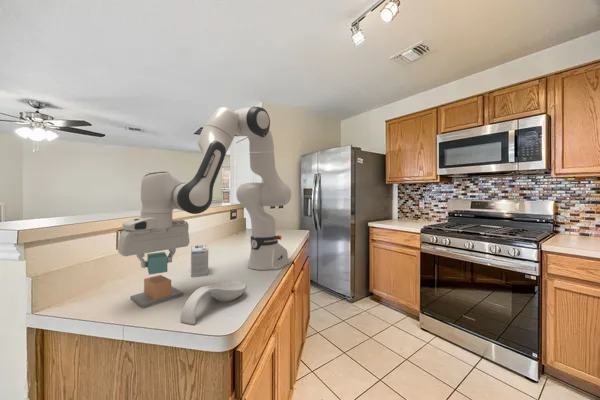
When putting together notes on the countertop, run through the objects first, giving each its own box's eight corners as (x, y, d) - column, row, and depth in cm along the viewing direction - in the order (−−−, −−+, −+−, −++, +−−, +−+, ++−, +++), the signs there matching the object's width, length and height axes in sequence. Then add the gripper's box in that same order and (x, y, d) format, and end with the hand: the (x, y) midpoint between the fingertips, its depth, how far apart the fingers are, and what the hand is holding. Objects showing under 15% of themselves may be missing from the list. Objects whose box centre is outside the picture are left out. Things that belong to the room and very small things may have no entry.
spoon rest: (223, 288, 88) (223, 268, 88) (252, 293, 84) (252, 272, 84) (169, 321, 65) (169, 294, 65) (206, 329, 62) (206, 301, 62)
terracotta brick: (160, 288, 84) (160, 274, 84) (171, 294, 79) (171, 280, 79) (144, 293, 80) (144, 278, 80) (154, 299, 75) (154, 284, 75)
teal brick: (164, 265, 84) (164, 251, 84) (167, 271, 78) (167, 256, 77) (147, 268, 81) (147, 253, 81) (148, 274, 75) (148, 258, 75)
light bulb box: (191, 269, 108) (191, 245, 108) (207, 268, 111) (207, 244, 111) (190, 277, 99) (190, 250, 98) (208, 275, 101) (208, 249, 101)
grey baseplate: (169, 287, 88) (169, 285, 88) (183, 295, 82) (183, 292, 82) (130, 299, 78) (130, 296, 78) (143, 308, 72) (143, 304, 72)
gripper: (183, 219, 89) (183, 256, 90) (116, 223, 73) (116, 270, 73) (193, 220, 85) (192, 259, 86) (123, 225, 69) (124, 274, 69)
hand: (157, 264), depth 79 cm, fingers closed on teal brick, 6 cm apart
